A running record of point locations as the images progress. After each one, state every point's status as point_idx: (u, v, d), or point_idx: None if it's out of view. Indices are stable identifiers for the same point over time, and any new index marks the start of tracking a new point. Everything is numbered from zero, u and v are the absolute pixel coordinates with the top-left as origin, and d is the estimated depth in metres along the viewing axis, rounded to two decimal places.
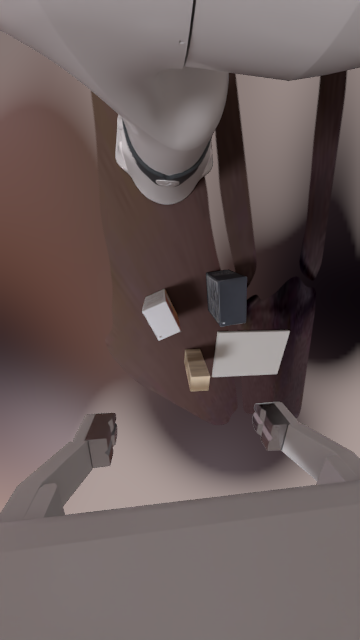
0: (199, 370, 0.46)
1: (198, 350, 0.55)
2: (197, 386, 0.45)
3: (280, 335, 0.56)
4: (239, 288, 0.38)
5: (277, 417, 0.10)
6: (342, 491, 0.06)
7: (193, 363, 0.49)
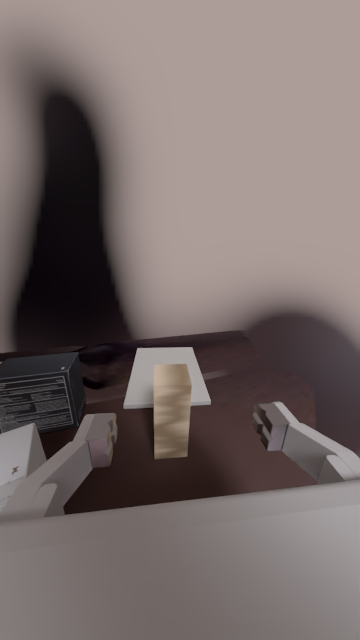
0: None
1: None
2: (178, 376, 0.23)
3: (141, 352, 0.52)
4: (16, 361, 0.28)
5: (277, 417, 0.10)
6: (342, 491, 0.06)
7: None
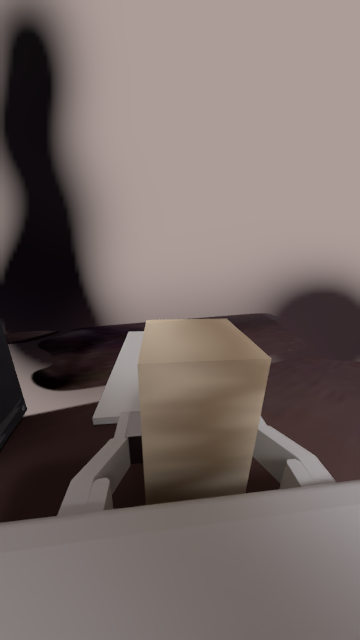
0: None
1: None
2: (215, 339, 0.08)
3: (133, 336, 0.36)
4: None
5: None
6: (342, 491, 0.06)
7: None
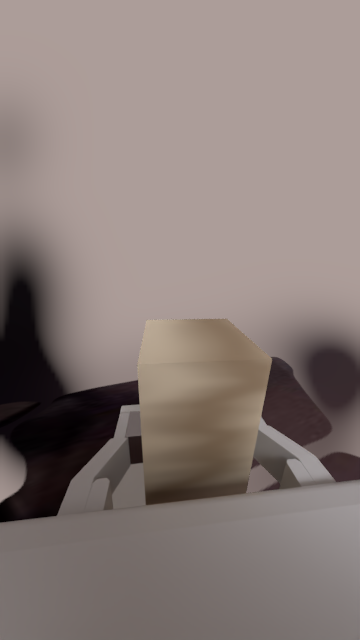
0: None
1: None
2: (216, 340, 0.08)
3: None
4: None
5: None
6: (342, 491, 0.06)
7: None
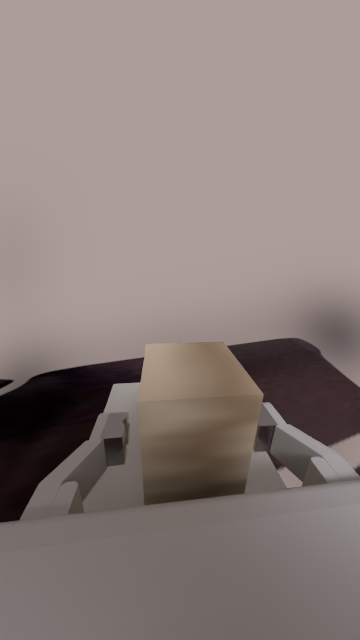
0: None
1: None
2: (212, 370, 0.08)
3: (120, 396, 0.23)
4: None
5: (264, 418, 0.10)
6: (342, 491, 0.06)
7: None
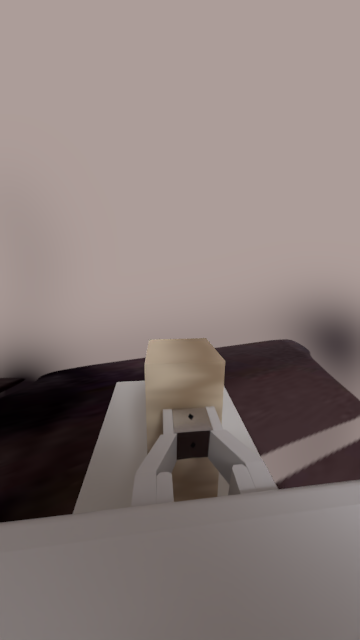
0: None
1: None
2: (194, 351, 0.12)
3: (123, 393, 0.26)
4: None
5: (202, 422, 0.09)
6: (342, 491, 0.06)
7: None
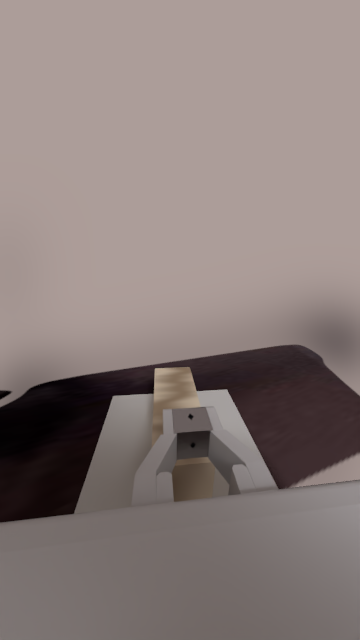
0: None
1: None
2: None
3: (119, 410, 0.23)
4: None
5: (202, 422, 0.09)
6: (342, 491, 0.06)
7: None
